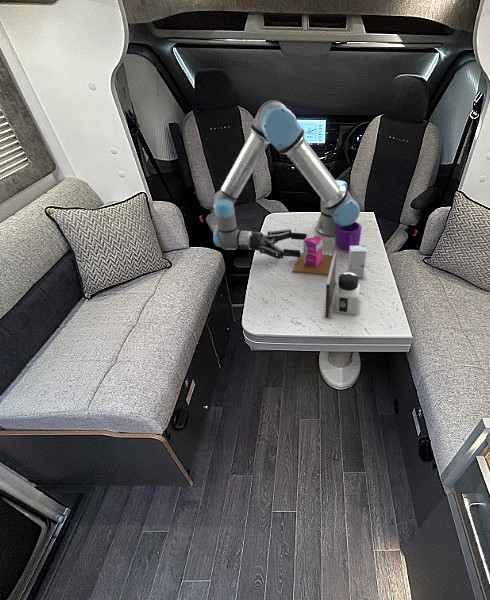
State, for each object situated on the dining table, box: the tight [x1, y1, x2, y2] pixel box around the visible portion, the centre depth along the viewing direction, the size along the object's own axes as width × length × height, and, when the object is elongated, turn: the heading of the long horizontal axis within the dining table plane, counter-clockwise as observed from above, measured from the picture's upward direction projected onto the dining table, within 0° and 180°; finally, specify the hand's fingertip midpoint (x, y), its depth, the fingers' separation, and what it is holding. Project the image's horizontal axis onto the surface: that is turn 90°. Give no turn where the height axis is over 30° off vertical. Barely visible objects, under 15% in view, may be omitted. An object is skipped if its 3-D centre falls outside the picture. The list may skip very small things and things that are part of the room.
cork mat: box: [292, 252, 333, 276], centre depth 141 cm, size 14×14×1 cm
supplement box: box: [302, 233, 323, 268], centre depth 137 cm, size 6×6×12 cm
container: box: [333, 272, 361, 315], centre depth 116 cm, size 8×8×13 cm
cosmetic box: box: [347, 245, 367, 279], centre depth 132 cm, size 6×4×12 cm
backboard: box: [324, 251, 338, 319], centre depth 119 cm, size 20×1×14 cm, turn 171°
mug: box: [334, 221, 362, 254], centre depth 147 cm, size 17×11×10 cm, turn 3°
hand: (303, 245), depth 136 cm, fingers open, 13 cm apart
